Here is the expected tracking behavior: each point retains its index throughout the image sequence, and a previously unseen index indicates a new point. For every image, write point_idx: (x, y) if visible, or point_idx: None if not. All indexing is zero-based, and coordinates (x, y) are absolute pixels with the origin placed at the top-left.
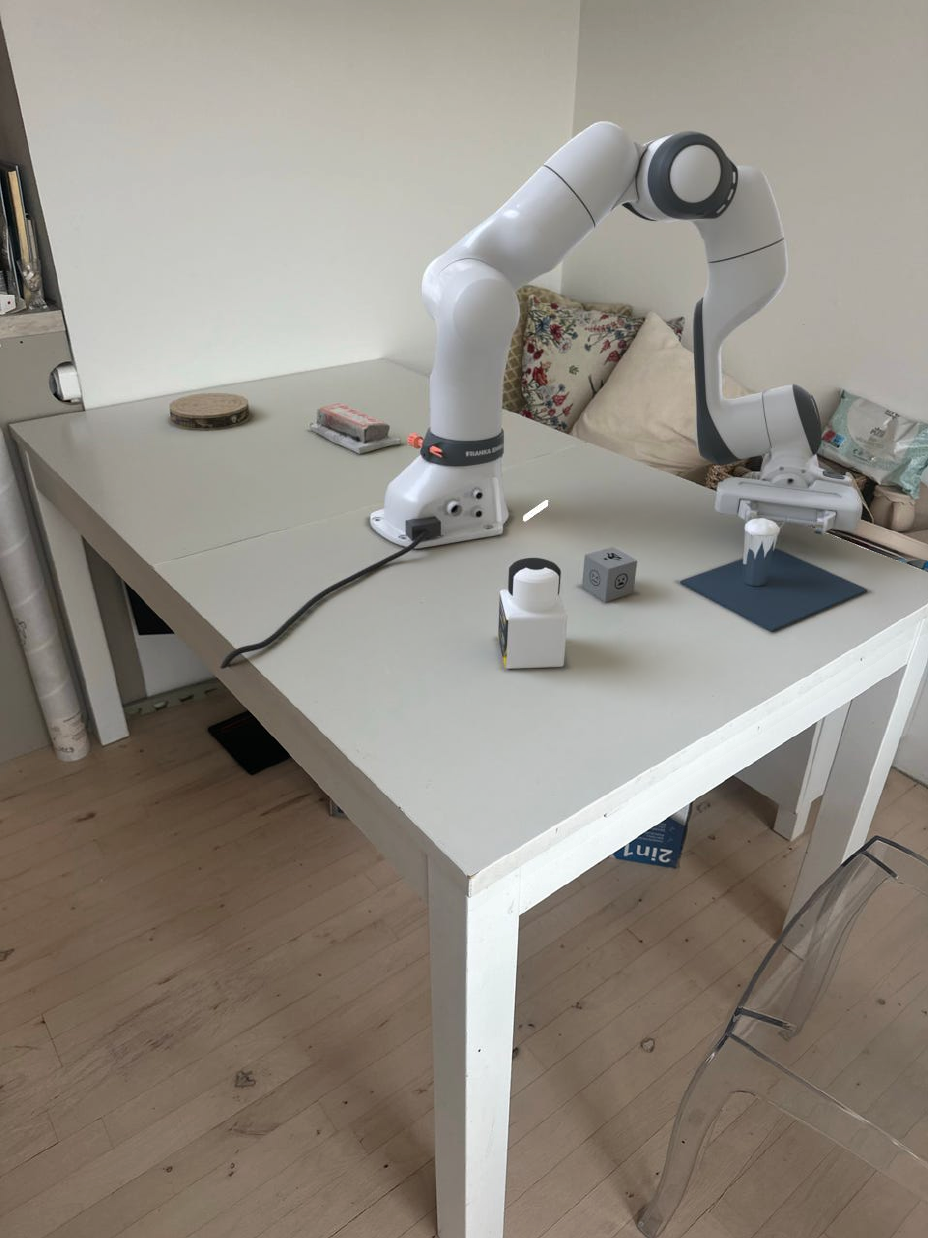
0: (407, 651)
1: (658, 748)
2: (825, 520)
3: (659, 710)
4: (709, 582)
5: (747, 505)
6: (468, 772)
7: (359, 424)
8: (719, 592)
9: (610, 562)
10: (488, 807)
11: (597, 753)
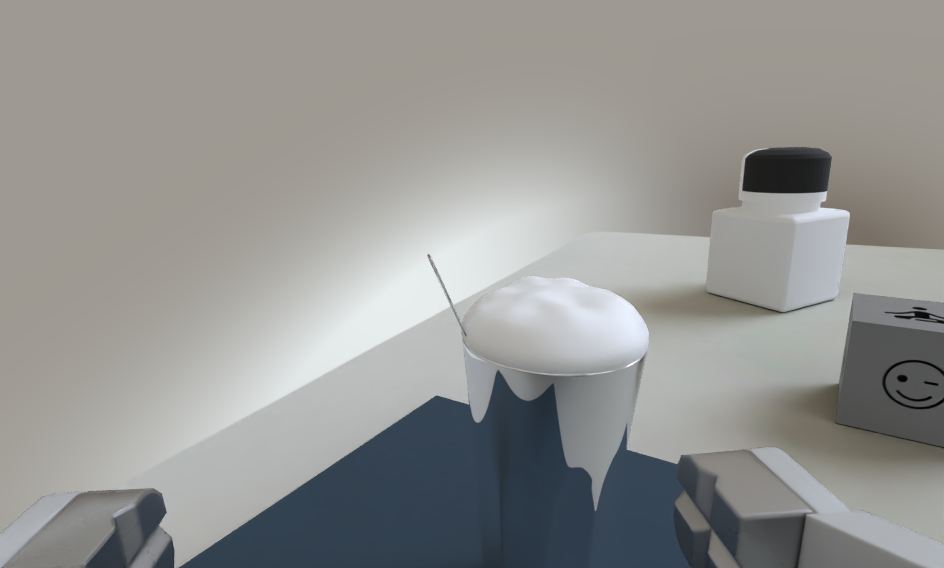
0: (884, 275)
1: (532, 269)
2: (14, 539)
3: None
4: None
5: (923, 563)
6: (654, 244)
7: None
8: (626, 479)
9: (887, 303)
10: (616, 240)
11: (579, 261)
